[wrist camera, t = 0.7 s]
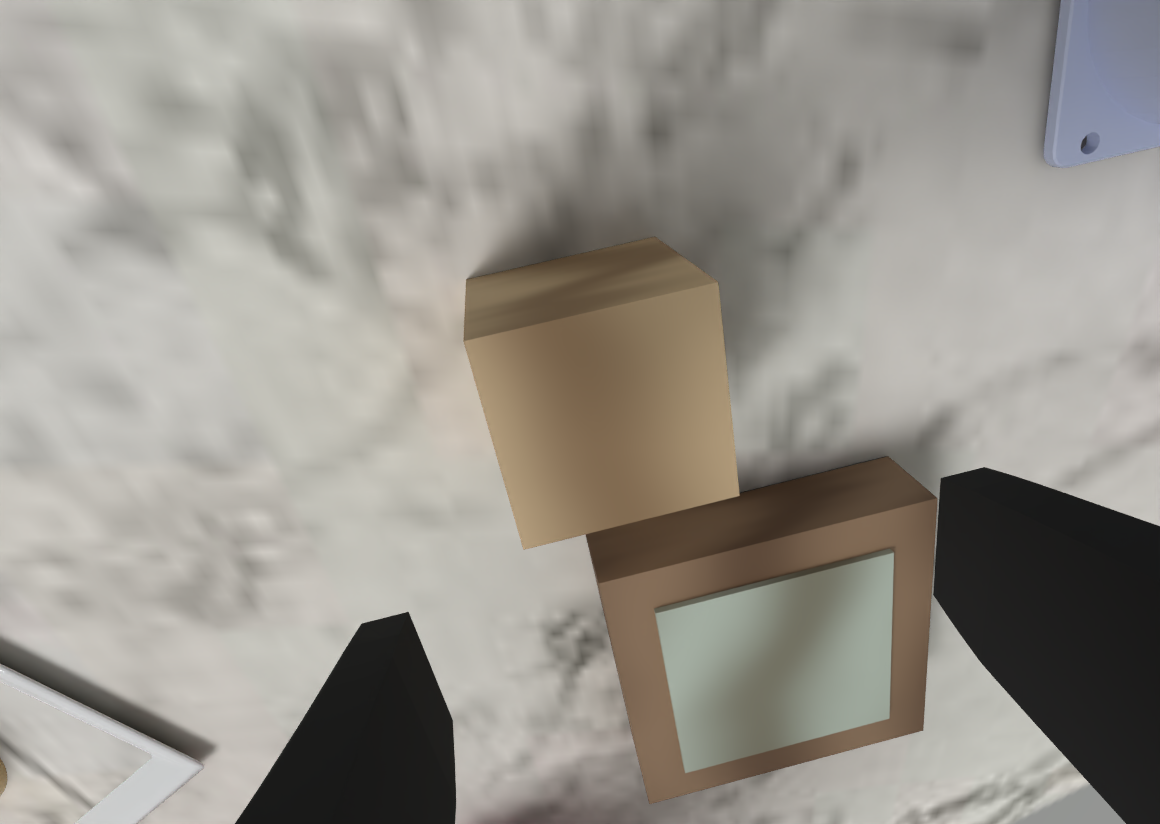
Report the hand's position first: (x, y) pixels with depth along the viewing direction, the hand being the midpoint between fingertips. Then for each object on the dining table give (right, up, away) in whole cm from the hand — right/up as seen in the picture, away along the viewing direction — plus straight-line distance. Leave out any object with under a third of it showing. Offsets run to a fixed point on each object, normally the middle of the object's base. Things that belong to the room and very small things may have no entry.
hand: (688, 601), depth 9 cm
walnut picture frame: (+5, -4, +14) cm, 16 cm away
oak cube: (-1, +4, +9) cm, 10 cm away
